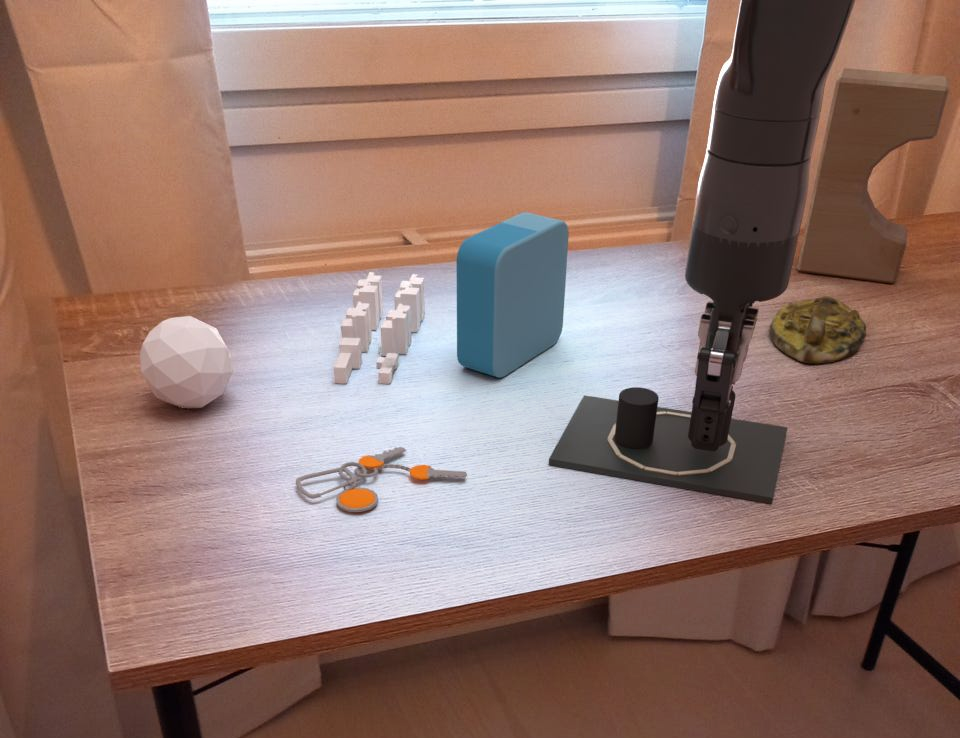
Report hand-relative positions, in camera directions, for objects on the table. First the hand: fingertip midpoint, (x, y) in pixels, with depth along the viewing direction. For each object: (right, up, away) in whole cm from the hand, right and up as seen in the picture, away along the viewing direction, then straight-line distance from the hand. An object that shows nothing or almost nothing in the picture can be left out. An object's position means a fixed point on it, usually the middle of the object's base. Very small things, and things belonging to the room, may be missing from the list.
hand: (708, 436), depth 83 cm
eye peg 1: (-6, 0, +2) cm, 6 cm away
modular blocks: (-29, +12, +18) cm, 36 cm away
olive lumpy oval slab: (+16, +14, +21) cm, 29 cm away
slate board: (-3, -1, +2) cm, 4 cm away
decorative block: (+24, +26, +35) cm, 49 cm away
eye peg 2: (0, 0, 0) cm, 0 cm away
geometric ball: (-44, +4, +8) cm, 45 cm away
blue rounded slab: (-16, +11, +16) cm, 25 cm away
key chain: (-27, -4, -2) cm, 27 cm away
